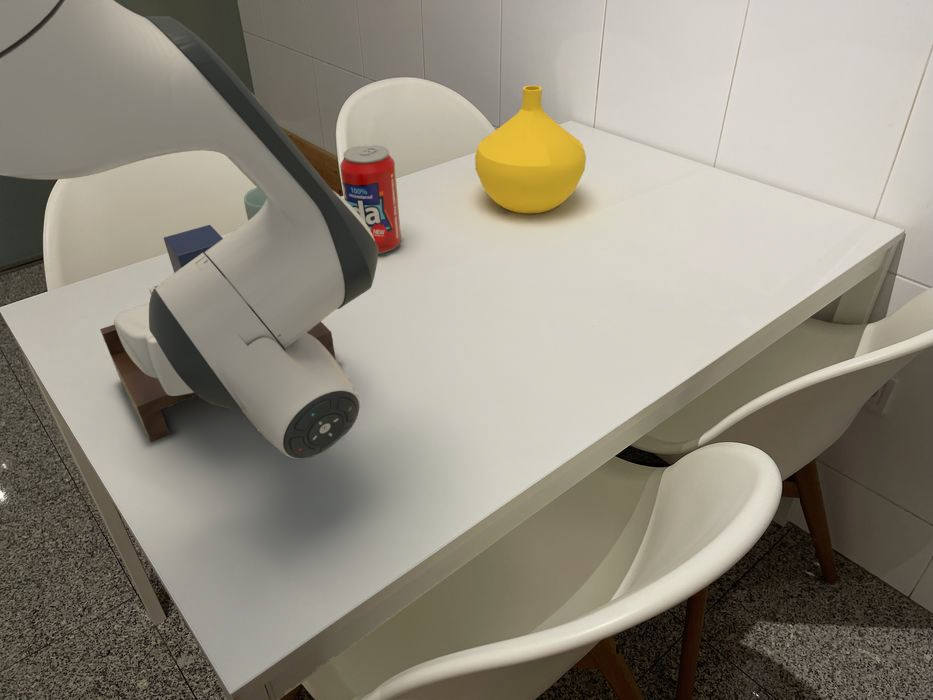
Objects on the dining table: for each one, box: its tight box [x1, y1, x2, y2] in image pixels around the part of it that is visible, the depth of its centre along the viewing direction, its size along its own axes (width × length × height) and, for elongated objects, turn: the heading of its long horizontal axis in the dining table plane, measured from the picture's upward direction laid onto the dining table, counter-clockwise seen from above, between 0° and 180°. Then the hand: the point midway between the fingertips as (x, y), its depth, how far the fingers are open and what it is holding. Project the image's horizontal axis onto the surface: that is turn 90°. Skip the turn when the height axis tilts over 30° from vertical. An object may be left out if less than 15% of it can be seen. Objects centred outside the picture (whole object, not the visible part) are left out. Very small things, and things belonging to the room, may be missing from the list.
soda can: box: [339, 144, 402, 255], centre depth 104 cm, size 8×8×15 cm
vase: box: [474, 85, 587, 215], centre depth 115 cm, size 18×18×19 cm
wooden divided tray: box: [99, 321, 337, 442], centre depth 81 cm, size 22×12×8 cm, turn 125°
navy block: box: [163, 224, 224, 274], centre depth 76 cm, size 5×5×13 cm
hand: (202, 277), depth 75 cm, fingers open, 8 cm apart
